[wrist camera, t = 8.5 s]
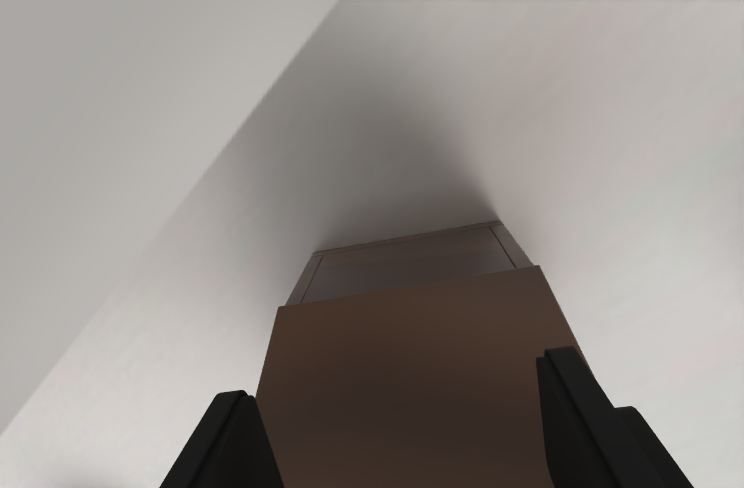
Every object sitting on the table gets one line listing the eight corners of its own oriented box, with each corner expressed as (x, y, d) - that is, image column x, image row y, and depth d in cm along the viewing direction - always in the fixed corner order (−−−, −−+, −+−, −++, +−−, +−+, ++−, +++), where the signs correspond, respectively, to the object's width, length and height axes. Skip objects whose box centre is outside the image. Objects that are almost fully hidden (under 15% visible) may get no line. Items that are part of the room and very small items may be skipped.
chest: (522, 402, 30) (559, 497, 23) (356, 423, 31) (344, 519, 24) (500, 219, 26) (536, 267, 19) (312, 252, 27) (282, 308, 20)
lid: (773, 767, 8) (904, 688, 5) (173, 784, 9) (7, 730, 6) (539, 277, 19) (538, 166, 16) (282, 317, 20) (240, 221, 17)
